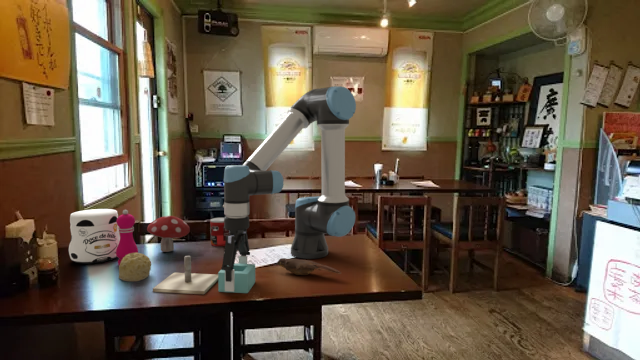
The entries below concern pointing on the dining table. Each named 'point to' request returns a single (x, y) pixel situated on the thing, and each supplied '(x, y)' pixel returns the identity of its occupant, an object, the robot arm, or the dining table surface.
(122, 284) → the dining table surface
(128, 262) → the rock
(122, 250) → the pepper mill
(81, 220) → the dulce de leche jar
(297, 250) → the robot arm
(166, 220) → the decorative mushroom
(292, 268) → the bird sculpture
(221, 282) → the teal hollow square block
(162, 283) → the rod stand
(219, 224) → the canned food
